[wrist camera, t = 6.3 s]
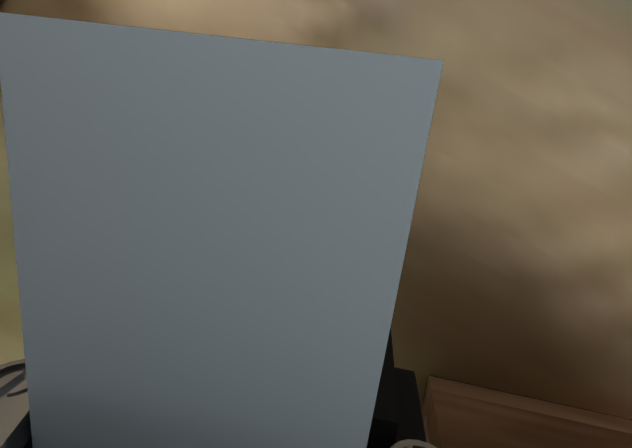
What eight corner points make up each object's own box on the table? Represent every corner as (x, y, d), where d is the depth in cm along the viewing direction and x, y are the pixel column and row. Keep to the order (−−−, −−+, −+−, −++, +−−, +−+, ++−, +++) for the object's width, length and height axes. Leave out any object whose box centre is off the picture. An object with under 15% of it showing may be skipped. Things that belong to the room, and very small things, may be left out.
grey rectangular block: (211, 78, 10) (-6, 11, 4) (400, 101, 10) (443, 60, 4) (190, 487, 14) (59, 747, 8) (326, 520, 13) (290, 825, 7)
